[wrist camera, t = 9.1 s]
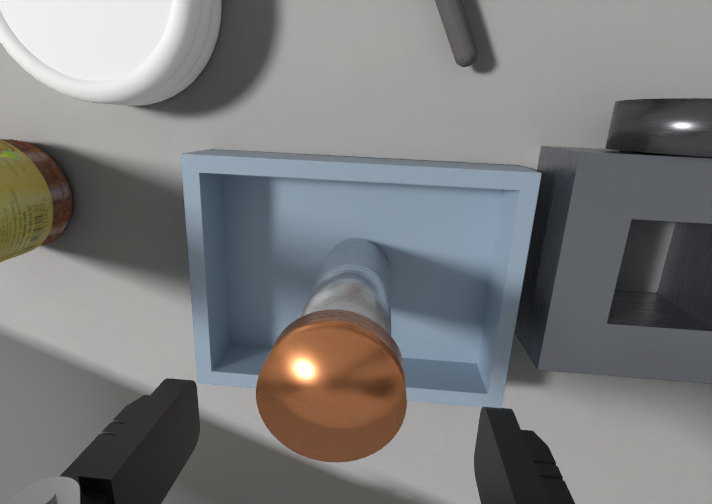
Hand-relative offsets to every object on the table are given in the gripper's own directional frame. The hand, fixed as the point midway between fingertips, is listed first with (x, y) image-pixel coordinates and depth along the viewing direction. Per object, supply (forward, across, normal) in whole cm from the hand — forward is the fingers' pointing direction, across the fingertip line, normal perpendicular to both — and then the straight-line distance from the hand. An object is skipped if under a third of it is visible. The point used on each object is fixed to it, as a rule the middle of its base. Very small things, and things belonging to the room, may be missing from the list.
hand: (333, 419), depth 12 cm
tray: (+13, 0, 0) cm, 13 cm away
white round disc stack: (+13, +12, -13) cm, 22 cm away
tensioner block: (+13, -14, -3) cm, 19 cm away
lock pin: (+12, 0, 0) cm, 12 cm away
